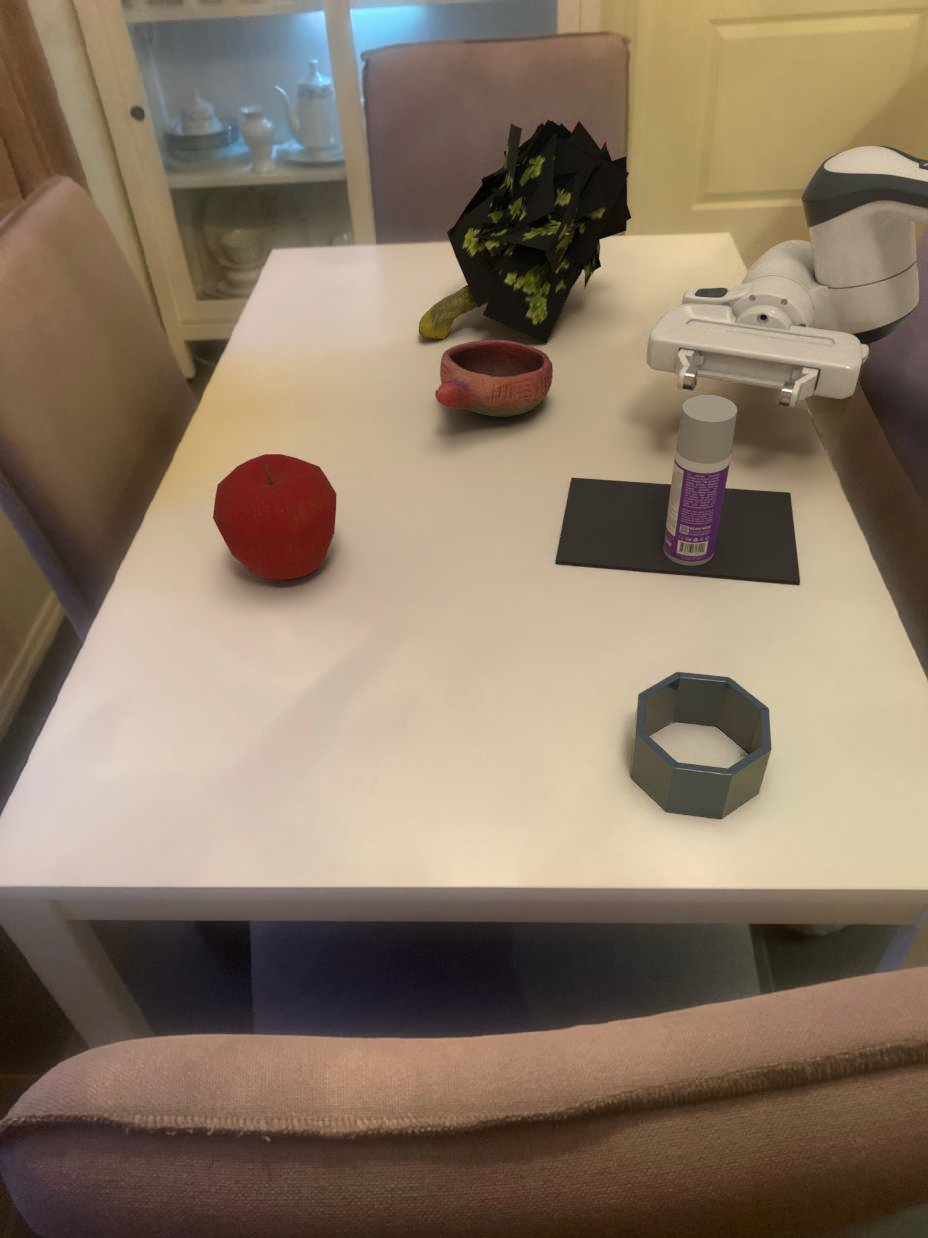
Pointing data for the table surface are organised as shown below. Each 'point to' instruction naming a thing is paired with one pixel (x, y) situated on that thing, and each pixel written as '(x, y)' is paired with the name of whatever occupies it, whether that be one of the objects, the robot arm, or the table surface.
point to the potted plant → (534, 230)
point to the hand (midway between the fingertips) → (735, 391)
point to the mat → (636, 522)
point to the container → (699, 478)
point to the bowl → (494, 377)
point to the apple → (276, 515)
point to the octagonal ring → (703, 705)
